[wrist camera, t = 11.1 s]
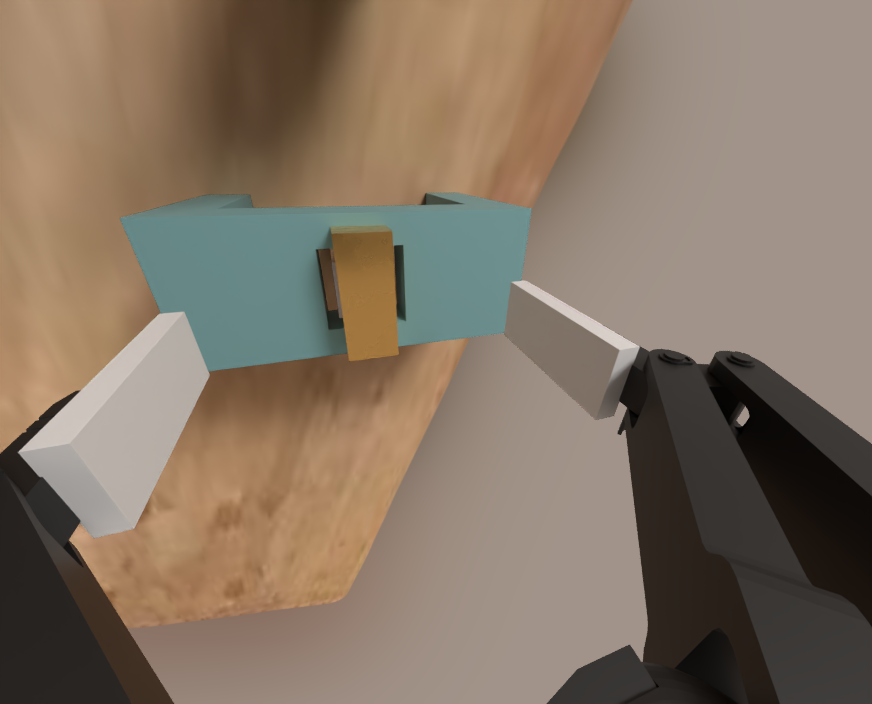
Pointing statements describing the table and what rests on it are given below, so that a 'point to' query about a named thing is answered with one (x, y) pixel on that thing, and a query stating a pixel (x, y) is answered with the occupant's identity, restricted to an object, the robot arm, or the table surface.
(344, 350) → the teal slotted arch
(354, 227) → the golden orange block
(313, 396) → the table surface
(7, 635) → the robot arm
